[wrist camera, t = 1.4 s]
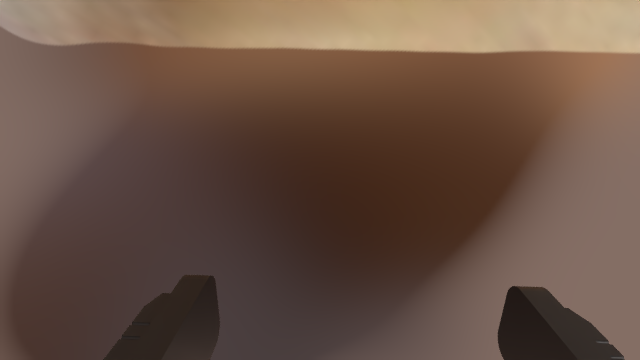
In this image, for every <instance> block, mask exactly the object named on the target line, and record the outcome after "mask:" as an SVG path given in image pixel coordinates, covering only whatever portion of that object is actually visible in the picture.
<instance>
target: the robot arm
mask: <svg viewBox="0 0 640 360" xmlns="http://www.w3.org/2000/svg"><path fill="white" fill-rule="evenodd" d="M219 320H220V318H219V309H218V300H217V291H216V282H215V278H214V276H208V275H184V276H183V277H182V278H181V280H180V281H179V282H178V284H177V285H176V287H175V288H174V290H173V291H172V293H171V294H169V293H162V294H161V295H160V296H158V297H157V298H155V299H154V300H153V301H151V302H150V303H148V304H147V305H146V306H144V308H143V309H142V310H141V312H140V313H139V314H138V316H137V317H136V318H135V320H134V321H133V322H132V325H130V326H129V327H128V329H127V330H126V331H125V332H124V334H123V335H122V338H121V339H119V340H118V341H117V343H116V344H115V346H114V347H113V348H112V349H111V351H110V352H109V353H108V354H107V356H106V357H105V358H104V359H103V360H210V358H211V355H212V353H213V351H214V348H215V346H216V343H217V340H218V335H219V327H220V321H219ZM498 344H499V348H500V352H501V354H502V357H503V359H504V360H624V356H623V355H622V354H621V353H620V352H619V351H618V350H617V349H616V348H615V347H614V346H613V345H610V344H609V343H608V340H607V339H606V338H605V337H604V336H603V335H602V334H601V333H600V332H599V331H598V330H597V329H596V328H595V327H594V326H593V325H592V324H591V323H589V322H588V321H587V320H585V319H584V318H582V317H581V316H579V315H578V314H576V313H574V312H573V311H571V310H570V309H569V308H564V307H563V306H562V305H561V304H560V303H559V302H558V301H557V300H556V299H555V297H554V296H552V294H551V293H550V292H549V291H548V290H547V289H545V288H543V287H520V286H512V287H511V288H510V289H509V290H508V292H507V296H506V300H505V304H504V309H503V313H502V317H501V321H500V326H499V330H498Z"/></svg>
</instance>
